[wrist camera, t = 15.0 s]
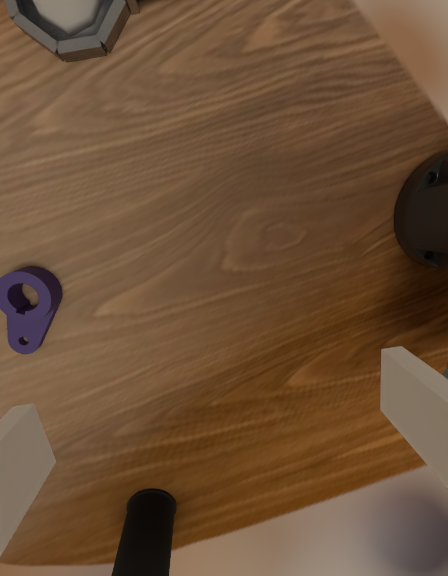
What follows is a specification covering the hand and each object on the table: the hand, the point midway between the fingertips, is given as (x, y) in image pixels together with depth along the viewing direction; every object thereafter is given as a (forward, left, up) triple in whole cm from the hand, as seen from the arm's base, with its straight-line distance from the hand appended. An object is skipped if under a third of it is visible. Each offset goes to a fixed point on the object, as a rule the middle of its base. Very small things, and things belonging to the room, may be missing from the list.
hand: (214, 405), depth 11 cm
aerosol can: (+17, +39, -28) cm, 51 cm away
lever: (+23, +2, -28) cm, 37 cm away
